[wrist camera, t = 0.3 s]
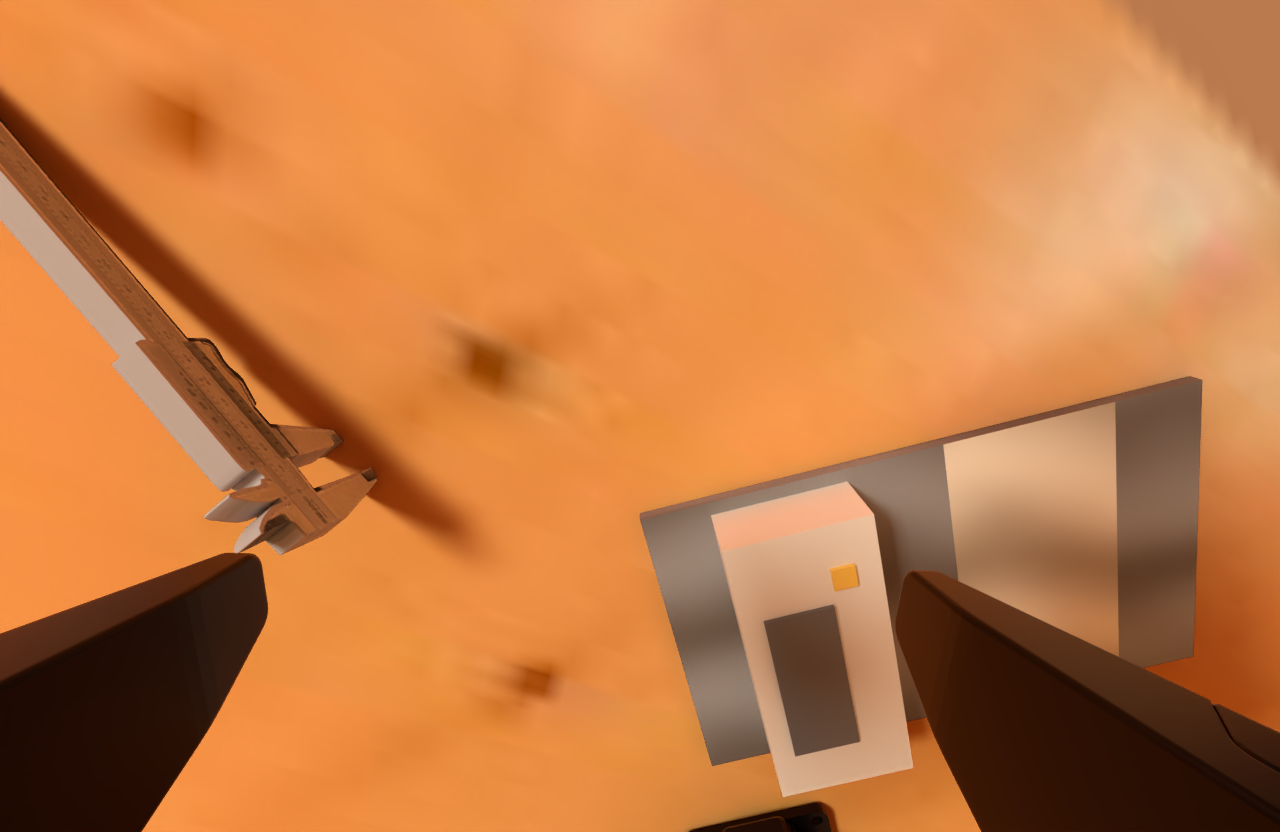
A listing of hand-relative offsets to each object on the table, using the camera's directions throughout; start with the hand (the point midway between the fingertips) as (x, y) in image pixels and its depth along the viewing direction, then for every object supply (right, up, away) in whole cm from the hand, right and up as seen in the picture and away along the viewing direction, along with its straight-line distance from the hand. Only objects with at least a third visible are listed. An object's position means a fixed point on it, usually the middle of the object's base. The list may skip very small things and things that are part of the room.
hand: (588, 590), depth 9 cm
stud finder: (+7, -6, +16) cm, 18 cm away
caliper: (-15, +8, +11) cm, 21 cm away
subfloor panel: (+12, -4, +16) cm, 20 cm away
